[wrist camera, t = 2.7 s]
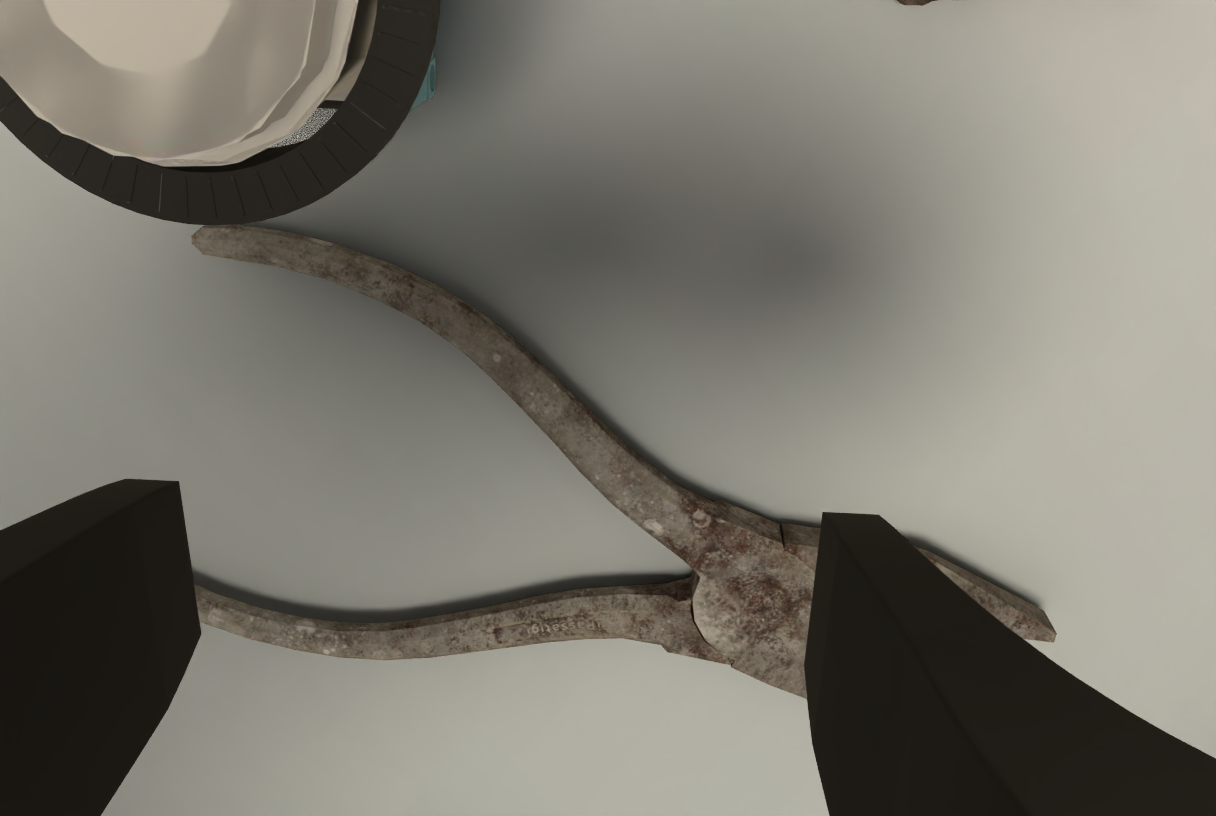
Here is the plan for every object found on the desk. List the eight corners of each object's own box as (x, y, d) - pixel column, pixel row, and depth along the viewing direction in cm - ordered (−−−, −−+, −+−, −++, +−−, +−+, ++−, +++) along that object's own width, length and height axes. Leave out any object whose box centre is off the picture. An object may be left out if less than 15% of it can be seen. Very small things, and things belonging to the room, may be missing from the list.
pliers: (99, 217, 20) (1152, 340, 20) (120, 206, 21) (1134, 325, 21) (135, 640, 24) (1019, 745, 24) (152, 618, 25) (1008, 720, 25)
